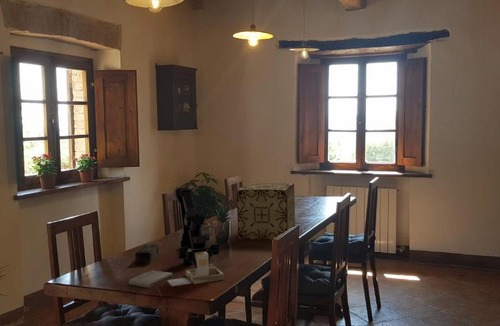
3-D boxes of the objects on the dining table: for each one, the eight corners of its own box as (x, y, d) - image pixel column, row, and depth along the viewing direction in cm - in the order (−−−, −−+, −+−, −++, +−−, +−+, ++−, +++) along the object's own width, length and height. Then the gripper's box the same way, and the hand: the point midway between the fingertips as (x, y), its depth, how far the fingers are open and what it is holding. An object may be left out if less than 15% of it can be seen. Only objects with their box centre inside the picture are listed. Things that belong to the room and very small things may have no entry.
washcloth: (174, 277, 236) (174, 271, 236) (149, 289, 220) (149, 282, 220) (153, 274, 241) (153, 268, 241) (128, 286, 226) (127, 279, 225)
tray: (185, 276, 235) (185, 270, 235) (214, 272, 241) (214, 266, 240) (194, 285, 222) (193, 278, 222) (224, 280, 228) (224, 274, 227)
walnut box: (204, 273, 237) (203, 264, 237) (212, 272, 239) (212, 263, 239) (208, 277, 231) (208, 268, 231) (217, 276, 232) (216, 267, 232)
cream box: (195, 278, 230) (194, 252, 229) (206, 277, 231) (205, 251, 230) (198, 282, 225) (197, 255, 224) (209, 280, 226) (208, 253, 225)
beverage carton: (159, 255, 276) (158, 243, 276) (150, 265, 257) (150, 252, 256) (144, 255, 277) (144, 243, 276) (134, 265, 257) (134, 252, 257)
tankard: (217, 249, 284) (216, 222, 283) (196, 252, 278) (195, 225, 276) (201, 242, 301) (200, 217, 300) (181, 245, 295) (180, 220, 293)
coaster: (167, 281, 229) (167, 280, 229) (186, 278, 232) (186, 277, 232) (171, 287, 220) (171, 286, 220) (192, 284, 224) (191, 283, 224)
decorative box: (238, 239, 307) (236, 189, 305) (250, 228, 336) (248, 183, 334) (287, 240, 300) (286, 189, 298) (295, 229, 329) (294, 183, 327)
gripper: (178, 229, 227) (183, 260, 217) (218, 226, 233) (225, 255, 223) (175, 243, 235) (181, 273, 226) (215, 239, 241) (221, 268, 231)
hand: (202, 267), depth 226 cm, fingers closed on cream box, 5 cm apart
